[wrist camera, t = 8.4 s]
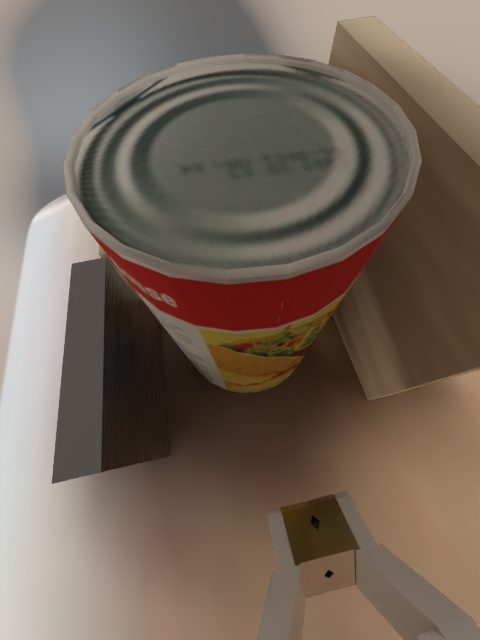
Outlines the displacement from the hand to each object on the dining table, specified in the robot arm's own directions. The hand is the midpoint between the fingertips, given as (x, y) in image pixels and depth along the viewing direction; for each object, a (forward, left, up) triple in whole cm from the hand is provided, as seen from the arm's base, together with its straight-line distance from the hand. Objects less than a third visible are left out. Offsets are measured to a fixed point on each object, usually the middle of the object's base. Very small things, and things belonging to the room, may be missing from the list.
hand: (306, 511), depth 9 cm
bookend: (+7, -7, -4) cm, 10 cm away
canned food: (0, -9, -4) cm, 10 cm away
